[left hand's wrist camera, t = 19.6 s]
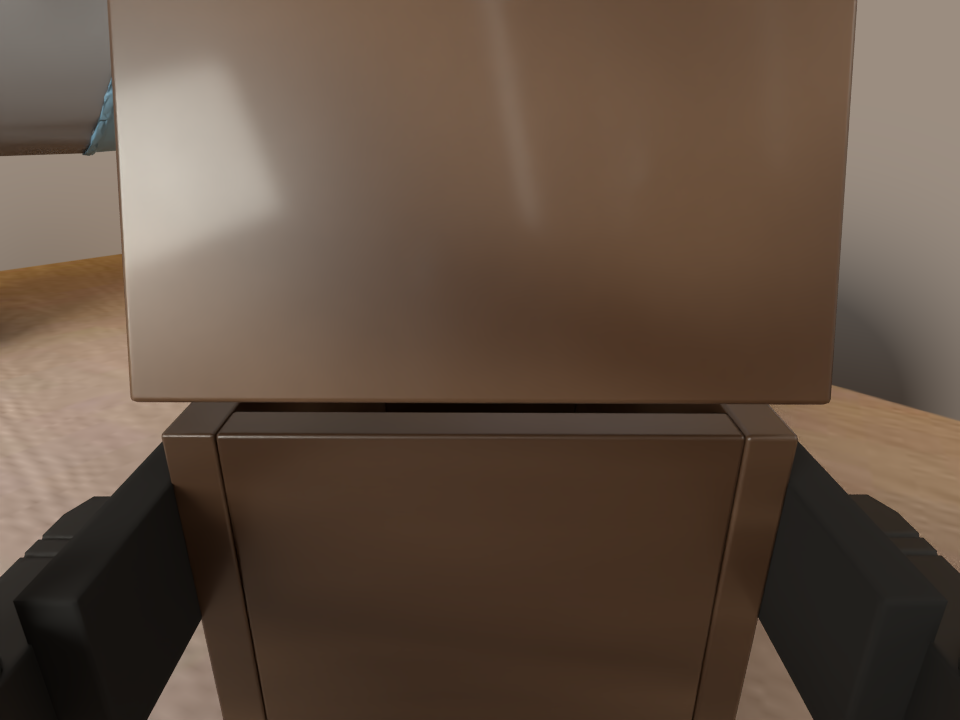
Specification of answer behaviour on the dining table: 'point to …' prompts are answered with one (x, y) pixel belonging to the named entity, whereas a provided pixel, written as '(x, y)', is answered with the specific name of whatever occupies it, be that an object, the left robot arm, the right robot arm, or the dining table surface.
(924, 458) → the dining table surface
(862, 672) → the left robot arm
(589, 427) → the chest
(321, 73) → the lid
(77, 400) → the dining table surface
